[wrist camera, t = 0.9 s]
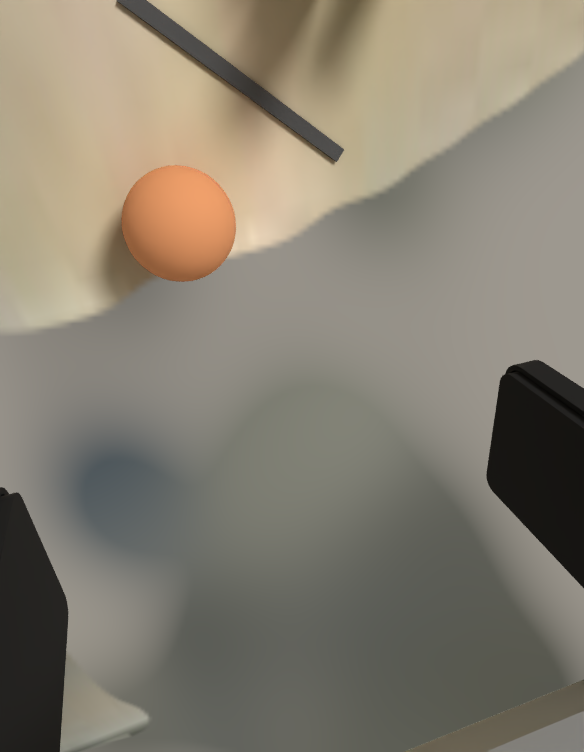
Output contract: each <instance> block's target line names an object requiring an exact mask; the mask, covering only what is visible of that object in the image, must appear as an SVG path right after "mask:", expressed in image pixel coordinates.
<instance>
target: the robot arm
mask: <svg viewBox="0 0 584 752" xmlns="http://www.w3.org/2000/svg"><path fill="white" fill-rule="evenodd" d="M487 481H488V484H489V486H490V488H491V489H492V491H493V492H494V493H495V494H496V495H497V496H498V497H499V499H501V501H502V502H503V503H504V504H505V505H506V506H507V507H508V508H509V509H510V510H511V511H512V512H513V513H514V514H515V515H516V517H517V518H518V519H519V520H520V521H521V522H522V523H523V524H524V525H525V526H526V527H527V528H528V529H529V530H530V532H531V533H532V534H533V535H534V536H535V537H536V538H537V539H538V540H539V541H540V542H541V543H542V544H543V545H544V546H545V547H546V548H547V550H548V551H549V552H550V553H551V554H552V555H553V556H554V557H555V558H556V559H557V560H558V561H559V562H560V563H561V564H562V566H564V568H565V569H566V570H567V571H568V572H569V573H570V574H571V575H572V576H573V577H574V578H575V579H576V580H577V581H578V583H579V584H580V585H581V586H582V587H583V588H584V388H582V387H581V386H579V385H577V384H576V383H574V382H573V381H571V380H570V379H568V378H567V377H565V376H564V375H562V374H560V373H559V372H557V371H556V370H554V369H553V368H551V367H549V366H548V365H546V364H545V363H543V362H541V361H539V360H533V361H529V362H525V363H521V364H517V365H513V366H510V367H509V368H508V369H507V371H506V374H505V375H503V376H502V378H501V380H500V385H499V392H498V399H497V405H496V413H495V419H494V426H493V433H492V440H491V447H490V453H489V460H488V468H487ZM67 628H68V607H67V601H66V597H65V594H64V592H63V590H62V587H61V585H60V583H59V580H58V578H57V576H56V574H55V571H54V569H53V567H52V565H51V563H50V560H49V558H48V556H47V553H46V551H45V549H44V547H43V544H42V542H41V540H40V538H39V536H38V533H37V531H36V528H35V526H34V524H33V522H32V519H31V517H30V515H29V513H28V510H27V508H26V506H25V503H24V501H23V499H22V497H21V495H20V494H19V493H13V494H9V493H8V492H7V490H5V488H2V487H1V488H0V752H60V738H61V722H62V707H63V691H64V675H65V660H66V644H67ZM405 752H584V680H581V681H579V682H576V683H574V684H572V685H569V686H566V687H564V688H561V689H559V690H556V691H554V692H551V693H549V694H546V695H544V696H541V697H539V698H536V699H534V700H531V701H529V702H526V703H525V704H522V705H519V706H516V707H514V708H512V709H509V710H507V711H504V712H502V713H500V714H496V715H494V716H492V717H489V718H487V719H484V720H482V721H480V722H477V723H474V724H472V725H469V726H467V727H464V728H462V729H459V730H457V731H454V732H452V733H449V734H447V735H444V736H442V737H439V738H437V739H434V740H432V741H429V742H427V743H424V744H422V745H419V746H417V747H414V748H412V749H410V750H407V751H405Z"/></svg>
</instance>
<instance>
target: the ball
mask: <svg viewBox="0 0 584 752" xmlns="http://www.w3.org/2000/svg"><path fill="white" fill-rule="evenodd" d="M122 230H123V235H124V238H125V241H126V244H127V246H128V248H129V250H130V252H131V253H132V255H133V256H134V258H135V259H136V260H137V261H138V262H139V263H140V264H141V265H142V266H143V267H144V268H145V269H147V270H148V271H149V272H151V273H153V274H154V275H156V276H158V277H161V278H163V279H167V280H171V281H182V282H184V281H193V280H197V279H200V278H203V277H205V276H207V275H209V274H210V273H212V272H213V271H215V270H216V269H217V268H218V267H219V266H220V265H221V264H222V263H223V262H224V261H225V259H226V258H227V256H228V255H229V253H230V251H231V249H232V246H233V243H234V239H235V232H236V223H235V215H234V210H233V207H232V204H231V202H230V200H229V198H228V196H227V195H226V193H225V192H224V190H223V189H222V188H221V187H220V185H219V184H218V183H217V182H216V181H215V180H213V179H212V178H211V177H209V176H208V175H206V174H205V173H203V172H201V171H199V170H196V169H193V168H190V167H186V166H177V165H176V166H166V167H161V168H158V169H155V170H153V171H151V172H149V173H147V174H146V175H144V176H143V177H141V178H140V179H139V180H138V181H137V182H136V183H135V184H134V186H133V187H132V188H131V190H130V192H129V193H128V195H127V197H126V200H125V203H124V206H123V211H122Z"/></svg>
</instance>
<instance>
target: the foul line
mask: <svg viewBox="0 0 584 752" xmlns="http://www.w3.org/2000/svg"><path fill="white" fill-rule="evenodd" d="M117 1H118V2H119V3H120V4H122V5H123V6H125V7H126V8H127V9H129V10H130V11H131V12H133V13H134V14H135V15H137V16H138V17H140V18H141V19H142V20H144V21H145V22H146V23H148V24H149V25H150V26H152V27H153V28H155V29H156V30H157V31H159V32H160V33H161V34H163V35H164V36H165V37H167V38H168V39H170V40H171V41H172V42H174V43H175V44H176V45H178V46H179V47H180V48H182V49H183V50H185V51H186V52H187V53H189V54H190V55H191V56H193V57H194V58H195V59H197V60H198V61H200V62H201V63H202V64H204V65H205V66H206V67H208V68H209V69H210V70H212V71H213V72H215V73H216V74H217V75H219V76H220V77H221V78H223V79H224V80H225V81H227V82H228V83H230V84H231V85H232V86H234V87H235V88H236V89H238V90H239V91H240V92H242V93H243V94H245V95H246V96H247V97H249V98H250V99H251V100H253V101H254V102H256V103H257V104H258V105H260V106H261V107H262V108H264V109H265V110H266V111H268V112H269V113H271V114H272V115H273V116H275V117H276V118H277V119H279V120H280V121H281V122H283V123H284V124H286V125H287V126H288V127H290V128H291V129H292V130H294V131H295V132H296V133H298V134H299V135H301V136H302V137H303V138H305V139H306V140H307V141H309V142H310V143H311V144H313V145H314V146H316V147H317V148H318V149H320V150H321V151H322V152H324V153H325V154H326V155H328V156H329V157H331V158H332V159H333V160H335V161H336V162H337V161H338V159H339V157H340V156H341V154H342V152H343V151H344V149H343V148H341V147H340V146H339V145H337V144H336V143H335V142H333V141H332V140H331V139H329V138H328V137H327V136H325V135H324V134H323V133H321V132H320V131H319V130H317V129H316V128H315V127H314V126H312V125H311V124H310V123H308V122H307V121H306V120H304V119H303V118H302V117H300V116H299V115H298V114H296V113H295V112H294V111H292V110H291V109H290V108H288V107H287V106H286V105H284V104H283V103H282V102H280V101H279V100H278V99H276V98H275V97H274V96H272V95H271V94H270V93H268V92H267V91H266V90H264V89H263V88H262V87H260V86H259V85H258V84H257V83H255V82H254V81H253V80H251V79H250V78H249V77H247V76H246V75H245V74H243V73H242V72H241V71H239V70H238V69H237V68H235V67H234V66H233V65H231V64H230V63H229V62H227V61H226V60H225V59H223V58H222V57H221V56H219V55H218V54H217V53H215V52H214V51H213V50H211V49H210V48H209V47H207V46H206V45H205V44H204V43H202V42H201V41H200V40H198V39H197V38H196V37H194V36H193V35H192V34H190V33H189V32H188V31H186V30H185V29H184V28H182V27H181V26H180V25H178V24H177V23H176V22H174V21H173V20H172V19H170V18H169V17H168V16H166V15H165V14H164V13H162V12H161V11H160V10H158V9H157V8H156V7H154V6H153V5H152V4H151V3H149V2H148V1H147V0H117Z"/></svg>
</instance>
